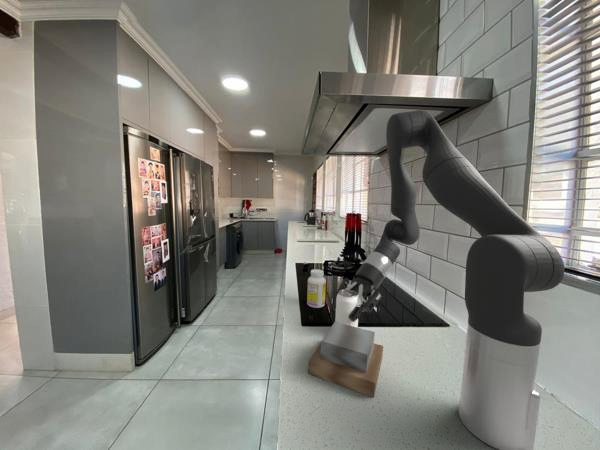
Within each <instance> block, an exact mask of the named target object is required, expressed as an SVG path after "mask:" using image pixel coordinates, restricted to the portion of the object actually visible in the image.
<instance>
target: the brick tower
mask: <svg viewBox="0 0 600 450" xmlns="http://www.w3.org/2000/svg"><path fill="white" fill-rule="evenodd" d="M375 333H376V331H373V330H369V329H365V328H361V327H358V328H357V327H353V326H349V325H345V324H341V323H337V322H335V321H334V322H333V324H332V325H331V327H330V328H329V329H328V331H327V332H326V333H325V335H324V336H323V337H322V339H321V341H320V343H319V344H318V346H317V348H316V349H315V350H314V352H313V354H312V355H311V356H310V357H309V359H308V365H307V366H308V367H307V374H309V375H311V376H314V377H316V378H319V379H322V380H325V381H328V382H331V383H333V384H336V385H339V386H342V387H345V388H347V389H350V390H352V391H355V392H357V393H361V394H364V395H366V396H369V397H372V398H374V397H375V395H376V389H377V386H378V379H379V375H380V372H381V371H380V370H381V365H382V360H383V355H384V354H383V352H384V345H381V344H378V343H375Z"/></svg>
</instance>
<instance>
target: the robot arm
mask: <svg viewBox="0 0 600 450" xmlns="http://www.w3.org/2000/svg"><path fill="white" fill-rule="evenodd" d="M385 135H386V148H387V149H386V150H387V157H388V166H389V168H388V169H389V175H390V184H391V185H390V186H391V188H390V189H391V190H390V191H391V193H390V213H391V214H392V215H393V216H394V217H396V218H397V219H390V220H389V221H388V222H387V223H386V224H385V226H384V229H383V232H382V235H381V238H380V240H379V242H378V244H377V245H376V247H375V248H374V250H373V251H372V252H371V253H370V255H368V256H367V258H366V259H365V260H364V262H363V263H362V264H361V266H360V267H359V268H358V270H357V271H356V272H355V277H354V278H353V279H352V280H350V279H349V278H347V277H345V278H344V279H343V280H342V282H341V284H340V285H339V287H338V288H337V290H336V292H335V293H336V294H337V295H338V291H340V290H344V289H346V290H353V291H355V292H357V293H358V304H357V307H355V308H354V309H353V311H352V312H351V314H350V315H349V319H350V320H351V321H353V322H354V321H356V320H357V319H358V320H359V317H360V316H361V314H362V313H364V312H367V313H372V311H373V310H374V308H375V307H376V305H378V303H379V302H380V300H382V298H383V296H382V295H381V293H380V292H379V291H378V289H379V287H380V286H381V285H382V282H383V281H384V280H385V279H386V277H387V275H389V272H390V270H391V269H392V267H393V265H394V263H395V262H396V260H398V257H400V254H401V249H400V247H399V246H398V245H397V243H394V242H398V243H400V244H403V245H407V246H411V245H414V244H415V243H416V242H418V240H419V236H420V226H419V223H418V222H419V221H418V218H417V213H416V201H417V200H416V198H417V188H416V184H415V182H414V180H413V178H412V177H411V175H410V173H409V172H408V170H407V169H406V166H405V164H404V161H403V149H406V148H414V147H419V148H421V149H423V150H424V153H425V154H426V157H425V160H424V163H423V167H422V170H421V171H422V172H421V173H422V180H423V183H424V185H425V186H426V188H427V190H428V191H429V192H430V194H431V195H432V197H433V198H434V199H435V201H436V202H437V203H438V204H439V206H441V207H443V208H444V209H445V210H446V211H448V212H449V213H451V214H453V215H454V216H456V217H457V218H458V219H460V220H462V221H463V222H465V223H466V224H468V225H469V226H470V227H471V228H473V229H474V230H475V231H476V232H477V233H478V234H479V236H480V237H479V238H477V239H475V241H474V242H473V243H471V246H470V247H469V249H468V252H467V255H466V261H465V282H464V283H465V285H464V303H465V308H466V311H467V314H468V315H467V317H468V318H467V327H466V339H465V348H464V357H463V365H462V366H463V367H462V374H461V375H462V376H461V383H460V394H459V395H460V396H459V403H458V404H459V405H458V416H459V419H460V421H461V422H462V424H463V425H464V427H466V429H467V430H468V431H469V432H470V433H471V434H473V436H475V437H476V438H477V439H478V440H480V441H482V442H483V443H485V444H487V445H489V446H490V447H492V448H494V449H496V450H534V449H535V442H536V434H537V427H538V420H539V419H538V418H539V413H540V412H539V411H540V404H541V395H540V393H539V392H538V391H537V389H536V380H537V374H538V373H537V372H538V371H537V370H538V364H539V357H540V356H539V355H540V348H541V347H540V346H541V342H542V333H543V331H542V330H543V329H542V325H541V323H540V322H539V321H538V320H537V319H536V318H534V317H533V316H531V315H529V314H526V313H525V312H524V306H525V305H524V304H525V303H524V301H525V293H534V292H543V291H544V292H545V291H549V290H552V289H554V288H556V287H557V286H559V284H560V283H561V282H562V281H563V279H564V276H565V263H564V260H563V257H562V256H561V254H560V252H559V250H558V249H557V248H556V247H555V246H554V244H553V243H551V242H550V241H549V240H548V239H547V238H546V237H545V236H544V235H543V234H541V233H540V232H539V231H538V230H537V229H536V228H534V227H533V226H532V225H531V224H530V223H528V221H526V220H525V219H523V217H522V216H520V215H519V214H518V213H517V212H516V211H515V210H514V209H512V208H511V207H510V206H509V204H508V203H506V201H505V200H504V199H503V198H502V197H501V196H500V194H499V193H498V192H497V191H496V190H495V189H494V188H493V187H492V186H491V185H490V183H488V182H487V181H486V180H485V178H484V177H483V176H482V175H481V174H480V172H479V171H478V170H477V168H475V167H474V166H473V164H472V163H471V162H470V161H469V160H468V159H467V158H466V157H465V156H464V155H463V154H462V153H461V152H460V151H459V150H458V149H457V147H456V146H455V145H454V144H453V143H452V141H450V139H449V138H448V137H447V136H446V134H445V132H444V131H443V129H442V128H441V126H440V125H439V123H438V122H437V120H436V119H435V117H434V116H433V115H432V114H431V112H429V111H428V110H423V109H419V110H411V111H405V112H403V111H402V112H398V113H393V114H392V115H390V117H389V118H388V121H387V124H386V134H385ZM393 241H394V242H393ZM355 292H354V293H355ZM332 309H333V310H334V311H335V312H336V301H334V303H333V305H332Z"/></svg>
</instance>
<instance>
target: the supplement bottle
mask: <svg viewBox="0 0 600 450" xmlns="http://www.w3.org/2000/svg"><path fill="white" fill-rule="evenodd" d="M326 282H327V281H326V278H325V277H324V270H322V269H318V268H317V269H315V268H314V269H311V270H310V276H309V277H308V279H307V292H306V293H307V294H306V295H307V296H306V304H307V305H308V306H309V307H311V308H314V309H315V308H316V309H319V308H323V307H324V306H325V304H326V285H327V284H326Z"/></svg>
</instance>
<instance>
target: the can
mask: <svg viewBox="0 0 600 450" xmlns="http://www.w3.org/2000/svg"><path fill="white" fill-rule="evenodd" d="M354 292H355V291H353V290H346V289H344V290H340V291H338V294H337V295H336V299H335V302H336V311H335V321H334V322H337V323H341V324H345V325H349V326H353V327H357V328H359V327H358V326H359V318H358V319H357V320H356V321H354V322H353V321H351V320H350V319H349V315H350V314H351V312H352V311H353V309H354V308H355V307H357V304H358V293H357V292H355V293H354Z"/></svg>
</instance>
